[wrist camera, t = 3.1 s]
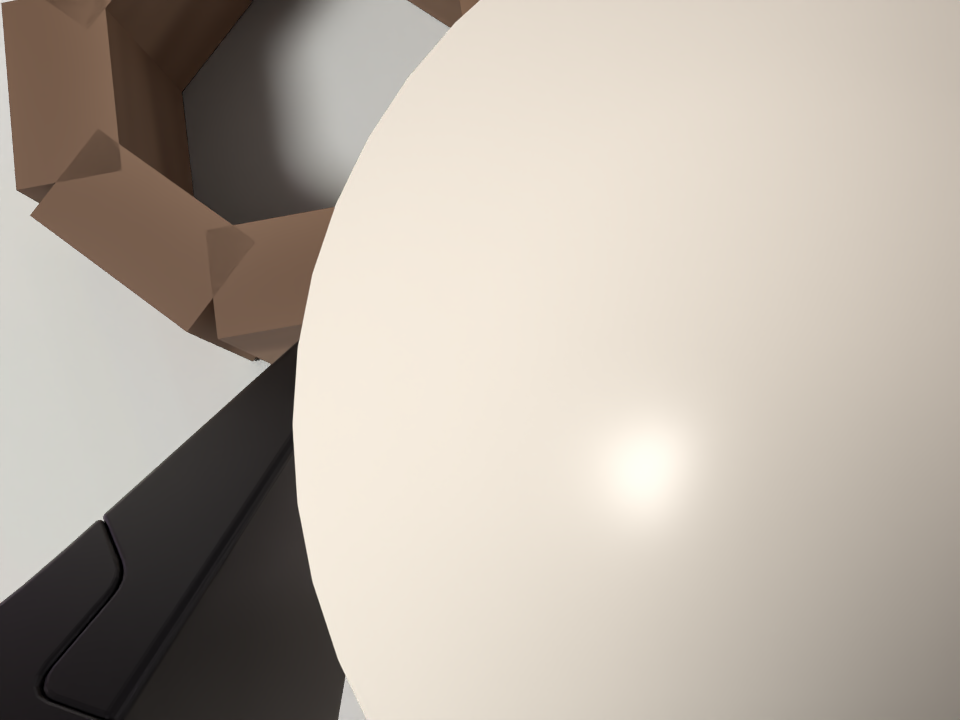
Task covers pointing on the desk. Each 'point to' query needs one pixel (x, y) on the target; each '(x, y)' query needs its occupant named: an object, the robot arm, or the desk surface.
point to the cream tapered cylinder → (646, 369)
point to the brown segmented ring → (152, 164)
